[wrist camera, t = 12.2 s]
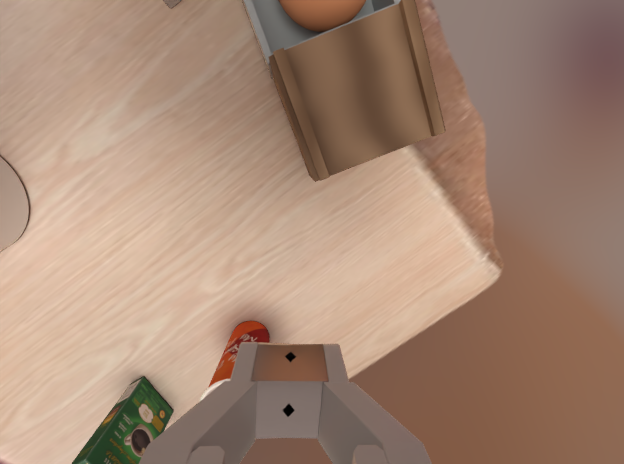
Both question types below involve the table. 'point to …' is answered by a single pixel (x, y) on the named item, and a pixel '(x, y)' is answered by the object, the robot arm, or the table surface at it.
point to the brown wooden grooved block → (359, 90)
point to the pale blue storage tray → (291, 24)
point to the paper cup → (236, 351)
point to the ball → (322, 12)
